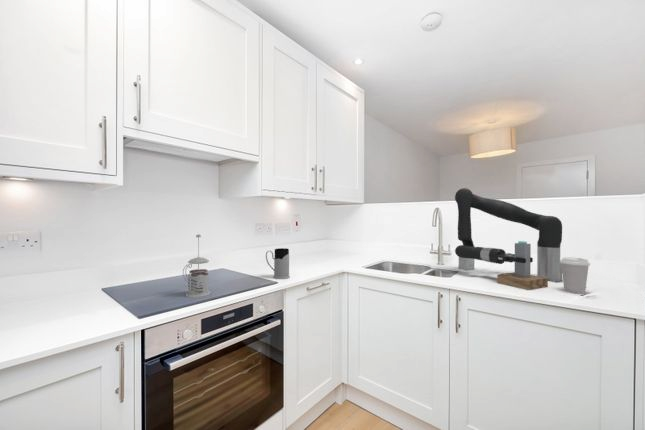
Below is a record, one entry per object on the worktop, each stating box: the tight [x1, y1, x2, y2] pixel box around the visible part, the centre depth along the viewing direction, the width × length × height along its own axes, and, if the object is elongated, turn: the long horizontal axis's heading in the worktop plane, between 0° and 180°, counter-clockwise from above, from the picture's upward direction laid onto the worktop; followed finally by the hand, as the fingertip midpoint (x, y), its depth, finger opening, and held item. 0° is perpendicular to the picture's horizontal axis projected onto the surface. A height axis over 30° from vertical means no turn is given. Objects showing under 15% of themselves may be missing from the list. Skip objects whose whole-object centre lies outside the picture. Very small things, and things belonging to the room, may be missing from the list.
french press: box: [182, 234, 212, 298], centre depth 116 cm, size 10×12×25 cm
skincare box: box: [458, 245, 476, 271], centre depth 171 cm, size 8×6×15 cm
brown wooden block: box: [496, 271, 549, 291], centre depth 129 cm, size 14×14×5 cm
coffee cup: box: [560, 256, 591, 297], centre depth 118 cm, size 10×10×15 cm
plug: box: [514, 240, 532, 278], centre depth 129 cm, size 4×4×19 cm
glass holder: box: [265, 247, 291, 280], centre depth 148 cm, size 9×14×15 cm, turn 68°
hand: (528, 260), depth 126 cm, fingers closed on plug, 4 cm apart
